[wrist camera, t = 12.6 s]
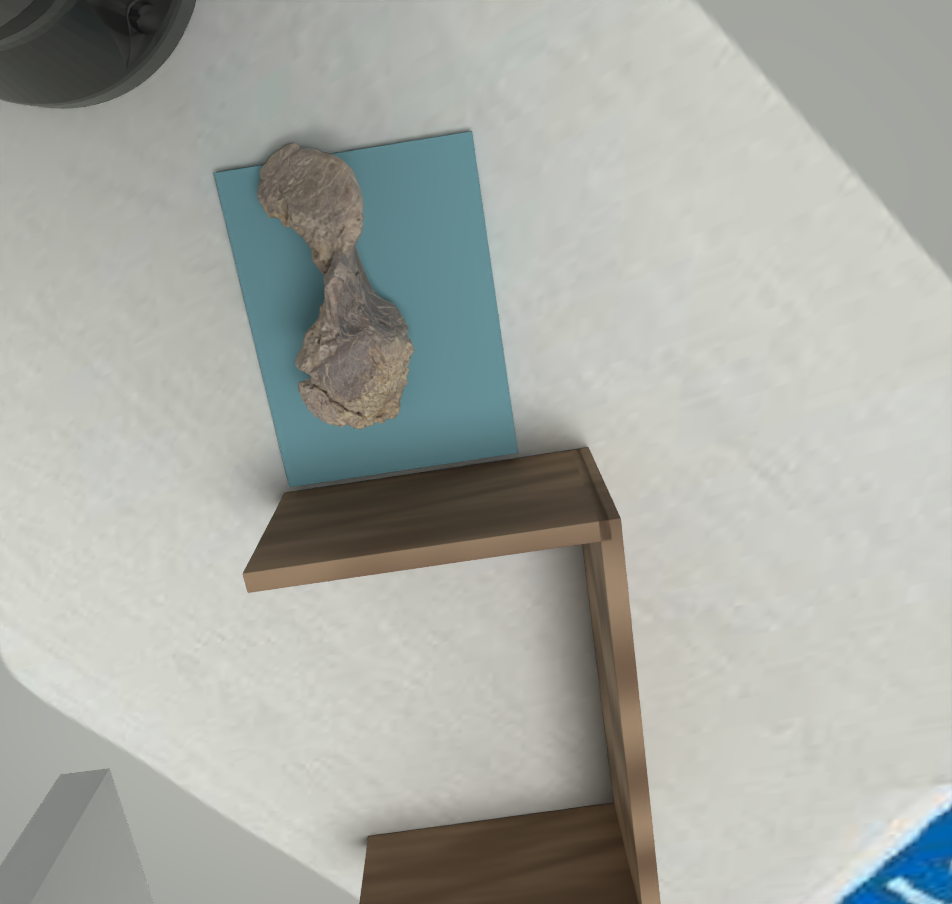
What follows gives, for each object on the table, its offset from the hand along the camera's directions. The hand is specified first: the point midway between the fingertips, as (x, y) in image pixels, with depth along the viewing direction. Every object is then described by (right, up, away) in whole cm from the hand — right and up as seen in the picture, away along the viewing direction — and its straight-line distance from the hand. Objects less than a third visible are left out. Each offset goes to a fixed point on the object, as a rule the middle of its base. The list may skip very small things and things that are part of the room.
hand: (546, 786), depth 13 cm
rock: (-8, +14, +31) cm, 35 cm away
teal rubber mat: (-6, +12, +32) cm, 35 cm away
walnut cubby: (-1, -8, +39) cm, 40 cm away
